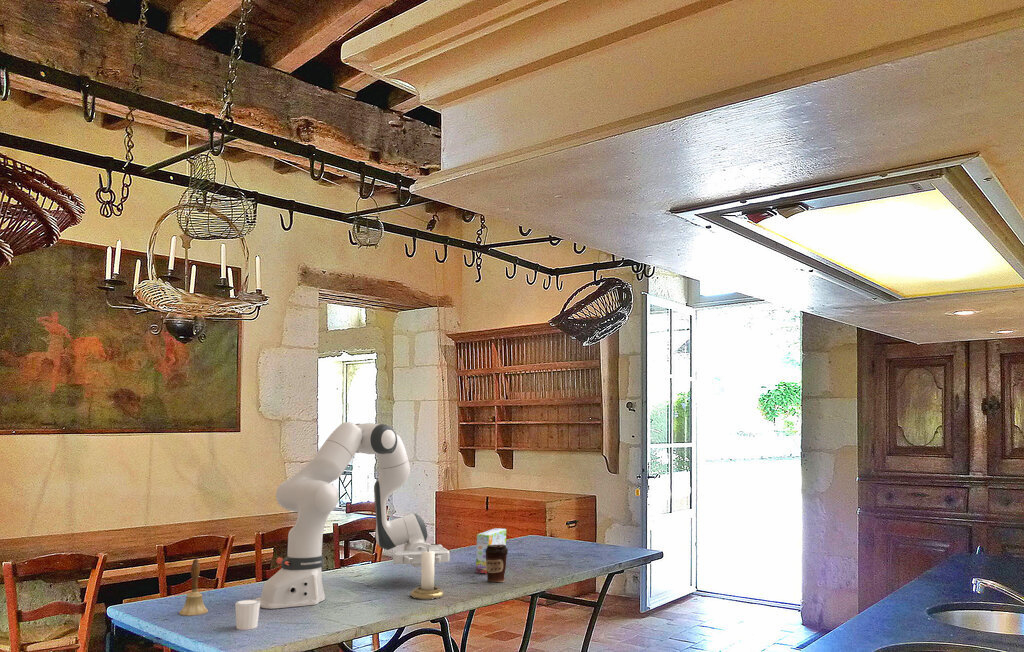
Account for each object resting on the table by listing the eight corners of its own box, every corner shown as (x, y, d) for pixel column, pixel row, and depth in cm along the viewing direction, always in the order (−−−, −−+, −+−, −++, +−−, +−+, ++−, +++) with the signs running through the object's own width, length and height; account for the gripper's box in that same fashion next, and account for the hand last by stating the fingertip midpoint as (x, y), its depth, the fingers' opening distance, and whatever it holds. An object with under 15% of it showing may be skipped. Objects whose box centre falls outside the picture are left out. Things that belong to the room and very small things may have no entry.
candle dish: (421, 601, 263) (421, 593, 263) (404, 595, 271) (405, 587, 272) (449, 596, 269) (450, 589, 270) (432, 591, 278) (432, 584, 278)
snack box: (488, 574, 310) (489, 534, 312) (475, 573, 312) (475, 534, 313) (506, 565, 330) (506, 528, 332) (493, 564, 332) (494, 527, 333)
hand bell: (207, 615, 243) (209, 560, 245) (177, 616, 240) (180, 562, 242) (209, 608, 251) (211, 556, 252) (180, 610, 248) (183, 557, 250)
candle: (425, 593, 267) (426, 551, 269) (418, 591, 271) (419, 549, 273) (436, 591, 270) (437, 549, 272) (429, 589, 274) (430, 548, 275)
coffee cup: (504, 584, 291) (505, 547, 293) (482, 583, 293) (482, 546, 294) (509, 579, 300) (509, 544, 301) (488, 578, 301) (488, 543, 303)
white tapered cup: (228, 628, 226) (230, 603, 227) (245, 623, 233) (246, 598, 234) (248, 631, 224) (249, 605, 225) (264, 625, 230) (265, 600, 231)
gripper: (390, 546, 292) (394, 552, 278) (445, 544, 297) (452, 550, 284) (389, 564, 291) (394, 571, 278) (445, 561, 296) (452, 568, 283)
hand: (424, 560), depth 281 cm, fingers open, 8 cm apart
